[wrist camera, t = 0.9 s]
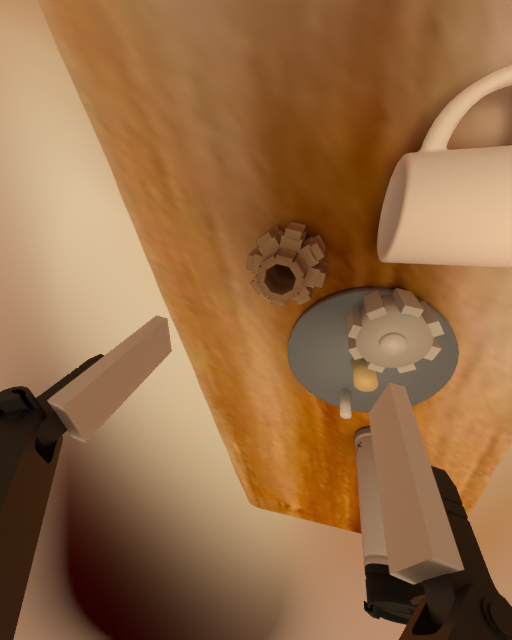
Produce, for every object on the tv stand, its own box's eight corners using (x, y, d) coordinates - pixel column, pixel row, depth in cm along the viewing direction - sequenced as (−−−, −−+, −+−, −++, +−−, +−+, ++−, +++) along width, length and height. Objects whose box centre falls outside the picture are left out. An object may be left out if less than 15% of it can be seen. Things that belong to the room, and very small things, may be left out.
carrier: (311, 263, 27) (305, 282, 22) (502, 308, 23) (546, 343, 18) (277, 379, 38) (269, 409, 33) (401, 420, 35) (411, 459, 30)
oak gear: (262, 215, 25) (243, 225, 20) (337, 231, 24) (338, 246, 19) (253, 282, 30) (235, 305, 25) (315, 299, 29) (310, 326, 23)
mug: (487, 252, 21) (552, 284, 15) (372, 249, 24) (385, 275, 18) (576, 71, 15) (756, -8, 9) (406, 94, 18) (447, 47, 11)
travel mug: (346, 429, 40) (353, 601, 24) (385, 423, 36) (425, 621, 20) (362, 450, 42) (378, 624, 25) (401, 447, 38) (449, 646, 22)
